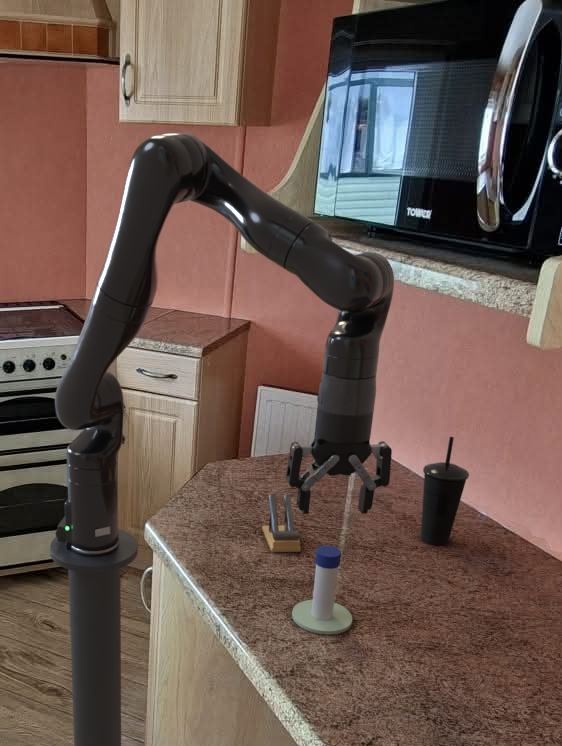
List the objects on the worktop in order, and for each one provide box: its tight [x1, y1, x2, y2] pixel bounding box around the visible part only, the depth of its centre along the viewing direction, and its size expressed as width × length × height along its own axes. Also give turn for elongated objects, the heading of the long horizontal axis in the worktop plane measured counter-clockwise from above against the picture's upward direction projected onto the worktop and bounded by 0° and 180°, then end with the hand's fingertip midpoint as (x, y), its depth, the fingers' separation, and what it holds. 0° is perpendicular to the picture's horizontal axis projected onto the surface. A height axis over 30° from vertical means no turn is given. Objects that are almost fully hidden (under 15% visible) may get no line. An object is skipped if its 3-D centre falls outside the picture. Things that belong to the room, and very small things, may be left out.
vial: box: [311, 545, 342, 620], centre depth 119 cm, size 10×4×10 cm
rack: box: [261, 493, 302, 553], centre depth 144 cm, size 9×5×8 cm, turn 2°
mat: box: [291, 599, 353, 635], centre depth 121 cm, size 9×9×1 cm
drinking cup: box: [420, 436, 470, 546], centre depth 142 cm, size 8×8×20 cm
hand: (333, 511), depth 115 cm, fingers open, 8 cm apart
